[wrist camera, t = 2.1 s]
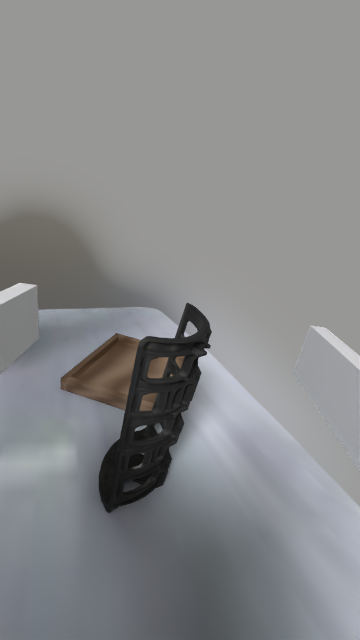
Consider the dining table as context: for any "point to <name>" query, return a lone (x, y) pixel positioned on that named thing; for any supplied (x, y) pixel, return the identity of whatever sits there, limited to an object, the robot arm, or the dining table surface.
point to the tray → (112, 373)
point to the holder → (154, 413)
